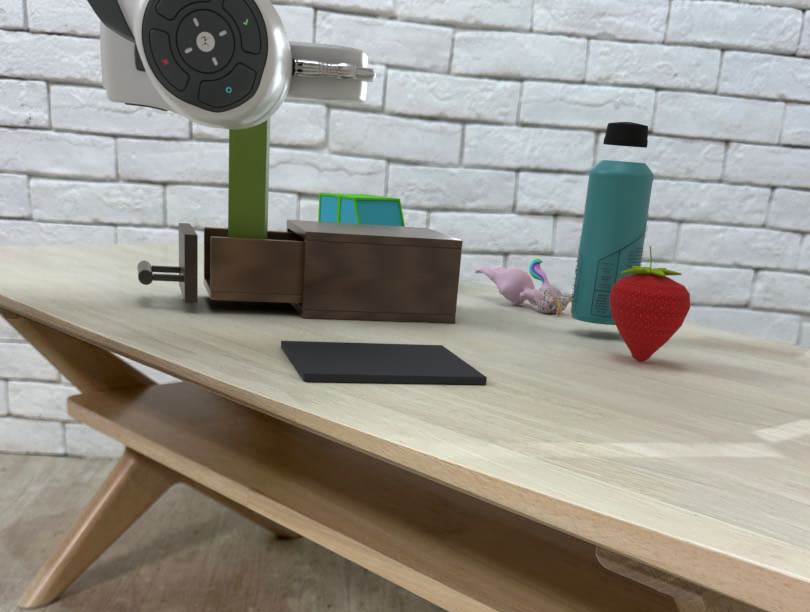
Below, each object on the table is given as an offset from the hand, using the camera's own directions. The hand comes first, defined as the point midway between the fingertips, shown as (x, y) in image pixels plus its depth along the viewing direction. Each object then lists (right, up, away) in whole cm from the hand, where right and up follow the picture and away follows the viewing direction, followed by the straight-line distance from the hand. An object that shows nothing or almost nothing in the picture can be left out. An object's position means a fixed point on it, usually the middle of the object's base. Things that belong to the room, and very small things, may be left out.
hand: (243, 73), depth 83 cm
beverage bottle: (+33, -18, +19) cm, 42 cm away
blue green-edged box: (+10, -6, +43) cm, 45 cm away
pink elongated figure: (+27, -12, +34) cm, 45 cm away
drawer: (-4, -14, +18) cm, 23 cm away
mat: (+11, -25, -3) cm, 28 cm away
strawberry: (+34, -23, +7) cm, 42 cm away
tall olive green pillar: (-3, -13, +18) cm, 22 cm away
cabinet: (+9, -15, +22) cm, 28 cm away
